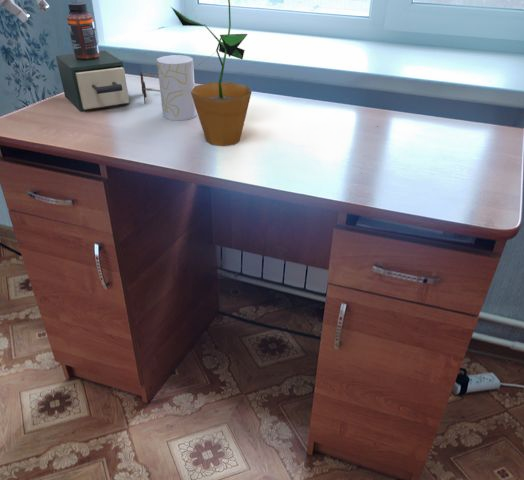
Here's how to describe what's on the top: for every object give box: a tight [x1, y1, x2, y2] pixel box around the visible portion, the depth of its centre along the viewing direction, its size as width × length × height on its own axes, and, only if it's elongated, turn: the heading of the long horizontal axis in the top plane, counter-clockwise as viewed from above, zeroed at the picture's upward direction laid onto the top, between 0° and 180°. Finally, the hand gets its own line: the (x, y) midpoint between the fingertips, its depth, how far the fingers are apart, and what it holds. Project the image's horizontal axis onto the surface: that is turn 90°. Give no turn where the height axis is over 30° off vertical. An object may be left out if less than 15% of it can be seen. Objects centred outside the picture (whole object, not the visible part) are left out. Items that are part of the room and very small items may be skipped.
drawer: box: [75, 66, 130, 109], centre depth 124 cm, size 17×11×8 cm, turn 31°
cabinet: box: [55, 50, 130, 112], centre depth 127 cm, size 14×13×10 cm
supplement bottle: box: [66, 1, 100, 60], centre depth 121 cm, size 6×6×11 cm
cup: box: [156, 54, 198, 121], centre depth 119 cm, size 8×8×12 cm
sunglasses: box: [139, 72, 160, 104], centre depth 132 cm, size 14×15×5 cm
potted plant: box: [170, 0, 253, 147], centre depth 101 cm, size 18×19×30 cm
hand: (37, 15), depth 114 cm, fingers open, 8 cm apart
